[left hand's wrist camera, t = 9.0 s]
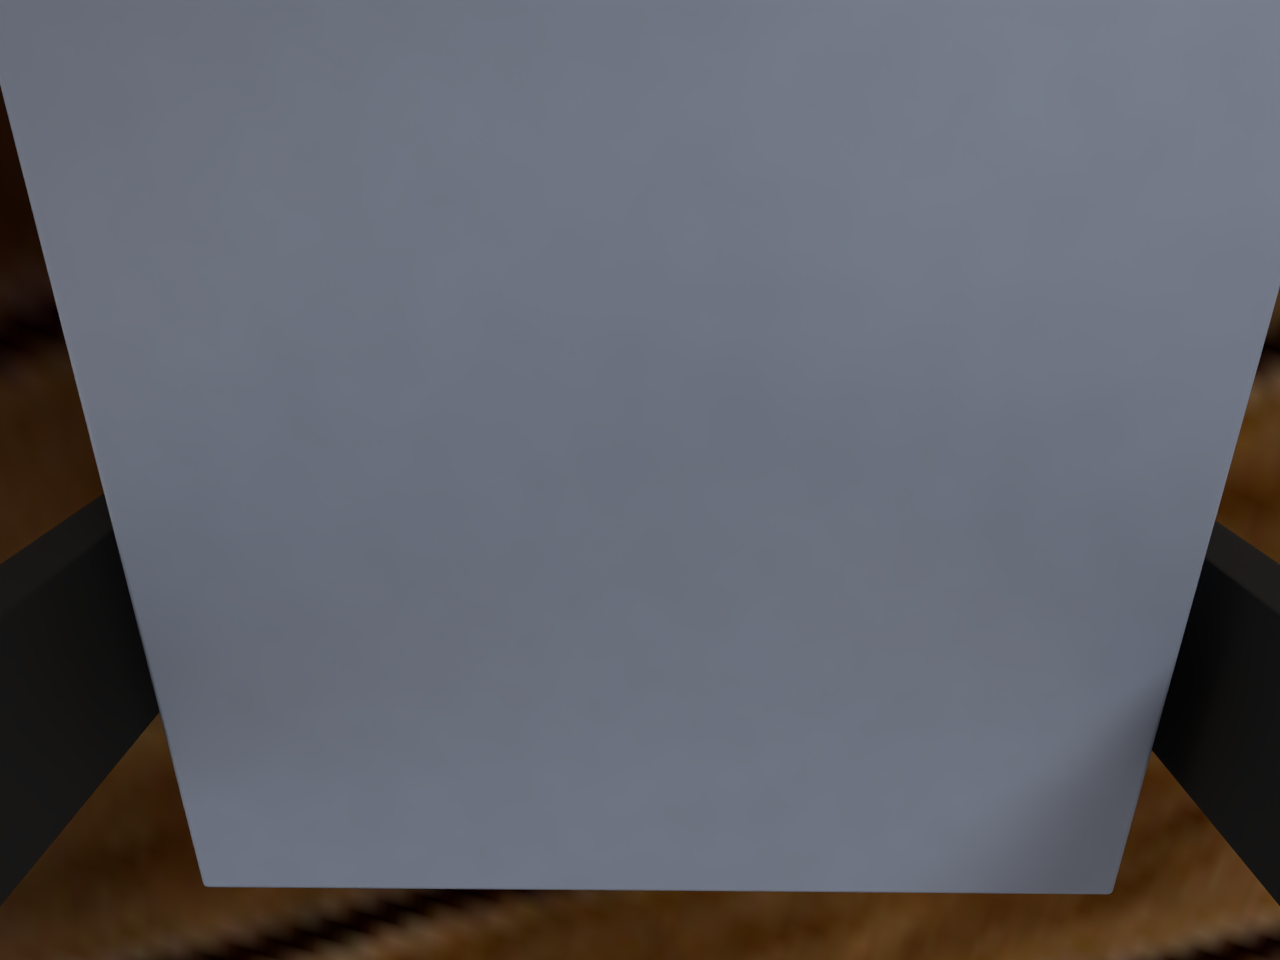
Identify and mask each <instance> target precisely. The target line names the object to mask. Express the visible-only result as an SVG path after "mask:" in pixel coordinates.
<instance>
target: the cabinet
mask: <svg viewBox="0 0 1280 960" xmlns="http://www.w3.org/2000/svg"><path fill="white" fill-rule="evenodd" d="M0 86H1V89H2V93H3V97H4V101H5V105H6V109H7V113H8V117H9V121H10V125H11V129H12V133H13V137H14V141H15V145H16V148H17V152H18V156H19V160H20V164H21V168H22V172H23V176H24V180H25V184H26V188H27V192H28V196H29V200H30V204H31V207H32V211H33V215H34V219H35V223H36V227H37V231H38V235H39V239H40V243H41V247H42V251H43V255H44V259H45V263H46V266H47V270H48V274H49V278H50V282H51V286H52V290H53V294H54V298H55V302H56V306H57V310H58V314H59V318H60V322H61V325H62V329H63V333H64V337H65V341H66V345H67V349H68V353H69V357H70V361H71V365H72V369H73V373H74V377H75V381H76V384H77V388H78V392H79V396H80V400H81V404H82V408H83V412H84V416H85V420H86V424H87V428H88V432H89V436H90V440H91V444H92V447H93V451H94V455H95V459H96V463H97V467H98V471H99V475H100V479H101V483H102V487H103V491H104V495H105V499H106V503H107V506H108V510H109V514H110V518H111V522H112V526H113V530H114V534H115V538H116V542H117V546H118V550H119V554H120V558H121V562H122V565H123V569H124V573H125V577H126V581H127V585H128V589H129V593H130V597H131V601H132V605H133V609H134V613H135V617H136V621H137V624H138V628H139V632H140V636H141V640H142V644H143V648H144V652H145V656H146V660H147V664H148V668H149V672H150V676H151V680H152V683H153V687H154V691H155V695H156V699H157V703H158V707H159V711H160V715H161V719H162V723H163V727H164V731H165V735H166V739H167V742H168V746H169V750H170V754H171V758H172V762H173V766H174V770H175V774H176V778H177V782H178V786H179V790H180V794H181V798H182V801H183V805H184V809H185V813H186V817H187V821H188V825H189V829H190V833H191V837H192V841H193V845H194V849H195V853H196V857H197V861H198V864H199V868H200V872H201V876H202V880H203V884H204V885H205V886H207V887H272V888H398V889H524V890H650V891H776V892H902V893H1028V894H1110V893H1111V892H1112V891H1113V888H1114V884H1115V881H1116V877H1117V873H1118V870H1119V866H1120V862H1121V859H1122V855H1123V852H1124V848H1125V844H1126V841H1127V837H1128V833H1129V830H1130V826H1131V823H1132V819H1133V815H1134V812H1135V808H1136V805H1137V801H1138V797H1139V794H1140V790H1141V786H1142V783H1143V779H1144V776H1145V772H1146V768H1147V765H1148V761H1149V757H1150V754H1151V750H1152V747H1153V743H1154V739H1155V736H1156V732H1157V729H1158V725H1159V721H1160V718H1161V714H1162V710H1163V707H1164V703H1165V700H1166V696H1167V692H1168V689H1169V685H1170V681H1171V678H1172V674H1173V671H1174V667H1175V663H1176V660H1177V656H1178V653H1179V649H1180V645H1181V642H1182V638H1183V634H1184V631H1185V627H1186V624H1187V620H1188V616H1189V613H1190V609H1191V605H1192V602H1193V598H1194V595H1195V591H1196V587H1197V584H1198V580H1199V577H1200V573H1201V569H1202V566H1203V562H1204V558H1205V555H1206V551H1207V548H1208V544H1209V540H1210V537H1211V533H1212V529H1213V526H1214V522H1215V519H1216V515H1217V511H1218V508H1219V504H1220V501H1221V497H1222V493H1223V490H1224V486H1225V482H1226V479H1227V475H1228V472H1229V468H1230V464H1231V461H1232V457H1233V453H1234V450H1235V446H1236V443H1237V439H1238V435H1239V432H1240V428H1241V425H1242V421H1243V417H1244V414H1245V410H1246V406H1247V403H1248V399H1249V396H1250V392H1251V388H1252V385H1253V381H1254V377H1255V374H1256V370H1257V367H1258V363H1259V359H1260V356H1261V352H1262V349H1263V345H1264V341H1265V338H1266V334H1267V330H1268V327H1269V323H1270V320H1271V316H1272V312H1273V309H1274V305H1275V301H1276V298H1277V294H1278V291H1279V287H1280V0H0Z"/></svg>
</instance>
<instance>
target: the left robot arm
mask: <svg viewBox="0 0 1280 960" xmlns="http://www.w3.org/2000/svg"><path fill="white" fill-rule="evenodd" d="M159 712H160V711H159V707H158V703H157V699H156V695H155V691H154V687H153V683H152V680H151V676H150V672H149V668H148V664H147V660H146V656H145V652H144V648H143V644H142V640H141V636H140V632H139V628H138V624H137V621H136V617H135V613H134V609H133V605H132V601H131V597H130V593H129V589H128V585H127V581H126V577H125V573H124V569H123V565H122V562H121V558H120V554H119V550H118V546H117V542H116V538H115V534H114V530H113V526H112V522H111V518H110V514H109V510H108V506H107V503H106V499H105V495H104V494H102V495H101V496H100V497H98V498H97V499H95V500H94V501H92V502H91V503H89V504H88V505H86V506H85V507H84V508H82V509H81V510H79V511H78V512H76V513H75V514H73V515H72V516H70V517H69V518H68V519H66V520H65V521H63V522H62V523H60V524H59V525H57V526H56V527H54V528H53V529H52V530H50V531H49V532H47V533H46V534H44V535H43V536H41V537H40V538H38V539H37V540H35V541H34V542H33V543H31V544H30V545H28V546H27V547H25V548H24V549H22V550H21V551H19V552H18V553H17V554H15V555H14V556H12V557H11V558H9V559H8V560H6V561H5V562H3V563H2V564H1V565H0V906H1V904H2V903H3V902H4V901H5V899H6V898H7V897H8V896H9V895H10V893H11V892H12V891H13V890H14V889H15V887H16V886H17V885H18V884H19V882H20V881H21V880H22V879H23V878H24V876H25V875H26V874H27V873H28V871H29V870H30V869H31V868H32V867H33V865H34V864H35V863H36V862H37V860H38V859H39V858H40V857H41V856H42V854H43V853H44V852H45V851H46V849H47V848H48V847H49V846H50V845H51V843H52V842H53V841H54V840H55V838H56V837H57V836H58V835H59V834H60V832H61V831H62V830H63V829H64V828H65V826H66V825H67V824H68V823H69V821H70V820H71V819H72V818H73V817H74V815H75V814H76V813H77V812H78V810H79V809H80V808H81V807H82V806H83V804H84V803H85V802H86V801H87V799H88V798H89V797H90V796H91V795H92V793H93V792H94V791H95V790H96V788H97V787H98V786H99V785H100V784H101V782H102V781H103V780H104V779H105V777H106V776H107V775H108V774H109V773H110V771H111V770H112V769H113V768H114V766H115V765H116V764H117V763H118V762H119V760H120V759H121V758H122V757H123V756H124V754H125V753H126V752H127V751H128V749H129V748H130V747H131V746H132V745H133V743H134V742H135V741H136V740H137V738H138V737H139V736H140V735H141V734H142V732H143V731H144V730H145V729H146V727H147V726H148V725H149V724H150V723H151V721H152V720H153V719H154V718H155V716H156V715H157V714H158V713H159ZM1152 751H1153V752H1154V753H1155V754H1156V756H1157V757H1158V758H1159V759H1160V760H1161V762H1162V763H1163V764H1164V765H1165V766H1166V768H1167V769H1168V770H1169V771H1170V773H1171V774H1172V775H1173V776H1174V777H1175V779H1176V780H1177V781H1178V782H1179V784H1180V785H1181V786H1182V787H1183V788H1184V790H1185V791H1186V792H1187V793H1188V795H1189V796H1190V797H1191V798H1192V799H1193V801H1194V802H1195V803H1196V804H1197V806H1198V807H1199V808H1200V809H1201V810H1202V812H1203V813H1204V814H1205V815H1206V817H1207V818H1208V819H1209V820H1210V821H1211V823H1212V824H1213V825H1214V826H1215V828H1216V829H1217V830H1218V831H1219V832H1220V834H1221V835H1222V836H1223V837H1224V838H1225V840H1226V841H1227V842H1228V843H1229V845H1230V846H1231V847H1232V848H1233V849H1234V851H1235V852H1236V853H1237V854H1238V856H1239V857H1240V858H1241V859H1242V860H1243V862H1244V863H1245V864H1246V865H1247V867H1248V868H1249V869H1250V870H1251V871H1252V873H1253V874H1254V875H1255V876H1256V878H1257V879H1258V880H1259V881H1260V882H1261V884H1262V885H1263V886H1264V887H1265V889H1266V890H1267V891H1268V892H1269V893H1270V895H1271V896H1272V897H1273V898H1274V899H1275V901H1276V902H1277V903H1278V904H1279V906H1280V565H1279V564H1278V563H1277V562H1275V561H1274V560H1272V559H1271V558H1269V557H1268V556H1266V555H1265V554H1263V553H1262V552H1261V551H1259V550H1258V549H1256V548H1255V547H1253V546H1252V545H1250V544H1249V543H1247V542H1246V541H1245V540H1243V539H1242V538H1240V537H1239V536H1237V535H1236V534H1234V533H1233V532H1231V531H1230V530H1228V529H1227V528H1226V527H1224V526H1223V525H1221V524H1220V523H1218V522H1217V521H1215V522H1214V526H1213V529H1212V533H1211V537H1210V540H1209V544H1208V548H1207V551H1206V555H1205V558H1204V562H1203V566H1202V569H1201V573H1200V577H1199V580H1198V584H1197V587H1196V591H1195V595H1194V598H1193V602H1192V605H1191V609H1190V613H1189V616H1188V620H1187V624H1186V627H1185V631H1184V634H1183V638H1182V642H1181V645H1180V649H1179V653H1178V656H1177V660H1176V663H1175V667H1174V671H1173V674H1172V678H1171V681H1170V685H1169V689H1168V692H1167V696H1166V700H1165V703H1164V707H1163V710H1162V714H1161V718H1160V721H1159V725H1158V729H1157V732H1156V736H1155V739H1154V743H1153V747H1152Z"/></svg>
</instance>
